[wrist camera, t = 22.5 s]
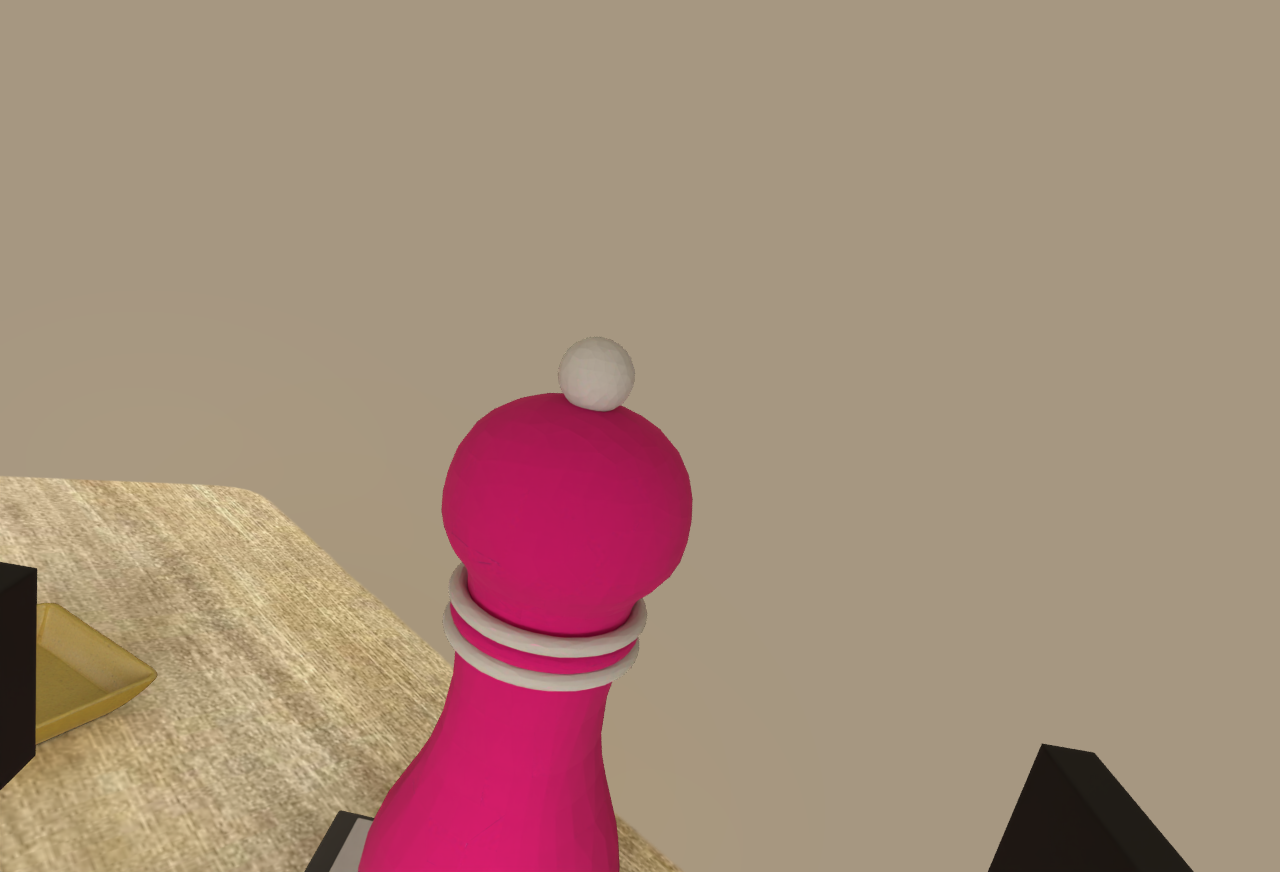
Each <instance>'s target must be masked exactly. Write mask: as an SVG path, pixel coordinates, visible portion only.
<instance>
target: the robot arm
mask: <svg viewBox="0 0 1280 872" xmlns="http://www.w3.org/2000/svg"><path fill="white" fill-rule="evenodd" d="M36 640H37V568H32V567H26V566H20V565H15V564H9V563H3V562H0V790H1V789H2V788H3V787H4V786H5V785H6V784H7V783H8V782H9V781H10V780H11V779H12V778H13V777H14V776H15V775H16V774H17V773H18V772H19V771H20V770H21V769H22V768H23V767H24V766H25V765H26V764H27V763H28V762H29V761H30V760H31V759H32V758H33V757H34V756H35V755H36ZM988 872H1193V870H1192V869H1191V868H1190V867H1189V866H1188V865H1187V863H1186V862H1185V861H1184V860H1183V858H1182V857H1181V856H1180V855H1179V854H1178V853H1177V851H1176V850H1175V849H1174V848H1173V846H1172V845H1171V844H1170V843H1169V842H1168V840H1167V839H1166V838H1165V837H1164V836H1163V835H1162V833H1161V832H1160V831H1159V830H1158V828H1157V827H1156V826H1155V825H1154V824H1153V823H1152V821H1151V820H1150V819H1149V818H1148V816H1147V815H1146V814H1145V813H1144V812H1143V811H1142V810H1141V808H1140V807H1139V806H1138V805H1137V803H1136V802H1135V801H1134V800H1133V799H1132V797H1131V796H1130V795H1129V794H1128V793H1127V791H1126V790H1125V789H1124V788H1123V787H1122V785H1121V784H1120V783H1119V782H1118V781H1117V779H1116V778H1115V777H1114V776H1113V775H1112V774H1111V772H1110V771H1109V770H1108V769H1107V768H1106V766H1105V765H1104V764H1103V763H1102V762H1101V760H1100V759H1099V758H1098V757H1097V756H1096V754H1095V753H1093V752H1087V751H1082V750H1076V749H1070V748H1064V747H1059V746H1052V745H1047V744H1042V745H1041V747H1040V749H1039V752H1038V755H1037V757H1036V759H1035V761H1034V764H1033V766H1032V768H1031V771H1030V773H1029V776H1028V778H1027V781H1026V783H1025V785H1024V787H1023V790H1022V792H1021V795H1020V797H1019V799H1018V802H1017V804H1016V806H1015V809H1014V811H1013V813H1012V816H1011V818H1010V821H1009V823H1008V825H1007V828H1006V830H1005V832H1004V835H1003V837H1002V840H1001V842H1000V844H999V847H998V849H997V851H996V854H995V856H994V859H993V861H992V863H991V866H990V868H989V870H988Z"/></svg>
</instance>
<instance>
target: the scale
mask: <svg viewBox="0 0 1280 872" xmlns="http://www.w3.org/2000/svg"><path fill="white" fill-rule="evenodd" d="M373 820H374V818H372V817H367V816H363V815H359V814H354V813H350V812H345V811H339V812H338V814H337V815H336V817H335V819H334V821H333V822H332V824H331V826H330V828H329V829H328V831H327V833H326V835H325V836H324V838H323V840H322V842H321V843H320V845H319V847H318V849H317V851H316V852H315V854H314V856H313V858H312V859H311V861H310V863H309V865H308V866H307V868H306V870H305V872H358V867H359V863H360V859H361V856H362V852H363V848H364V845H365V841H366V837H367V834H368V831H369V829H370V827H371V825H372V822H373Z"/></svg>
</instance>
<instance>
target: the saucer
mask: <svg viewBox="0 0 1280 872" xmlns="http://www.w3.org/2000/svg"><path fill="white" fill-rule="evenodd" d="M156 677H157V672H156V671H155V670H154V669H153V668H152V667H150V666H149V665H147V664H146V663H144V662H143V661H141V660H140V659H138V658H137V657H135V656H134V655H133V654H131V653H130V652H128V651H127V650H125V649H123V648H122V647H121V646H119V645H117V644H116V643H114V642H113V641H111V640H110V639H109V638H107V637H106V636H104V635H102V634H101V633H99V632H98V631H97V630H95V629H93V628H92V627H90V626H89V625H88V624H86V623H85V622H83V621H82V620H80V619H79V618H78V617H76V616H75V615H73V614H71V613H70V612H69V611H68V610H66V609H65V608H63V607H62V606H60V605H58V604H56V603H41V604H37V640H36V744H39V743H41V742H43V741H46V740H48V739H50V738H53V737H55V736H57V735H59V734H62V733H64V732H66V731H69V730H71V729H73V728H75V727H78V726H80V725H83V724H85V723H87V722H90V721H92V720H94V719H96V718H99V717H101V716H103V715H105V714H108V713H110V712H112V711H114V710H115V709H117V708H119V707H121V706H122V705H124V704H125V703H127V702H128V701H130V700H131V699H133V698H134V697H135V696H137V695H138V694H139V693H140V692H142V691H143V690H144V689H145V688H147V687H148V686H149V685H150V684H151V683H152V682H153V681H154V680H155V679H156Z"/></svg>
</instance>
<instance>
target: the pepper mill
mask: <svg viewBox="0 0 1280 872" xmlns="http://www.w3.org/2000/svg"><path fill="white" fill-rule="evenodd" d="M634 376H635V371H634V367H633V364H632V360H631V357H630V356H629V354H628V353H627V351H626V350H625V349H623V347H622V346H620V345H619V344H617V343H616V342H614V341H613V340H610V339H607V338H602V337H590V338H586V339H583V340H581V341H578V342H576V343H575V344H574V345H573V346H571V347H570V348H569V349H568V350H567V352H566V353H565V354H564V356H563V358H562V360H561V363H560V366H559V372H558V378H559V384H560V388H561V390H562V392H563V393H547V394H540V395H534V396H529V397H524V398H520V399H517V400H515V401H512V402H510V403H507V404H505V405H503V406H500V407H498V408H496V409H494V410H492V411H491V412H490V413H488V414H487V415H486V416H484V417H483V418H482V419H480V420H479V421H478V422H477V423H476V424H475V425H474V427H473V428H472V429H471V431H470V432H469V433H468V434H467V436H466V437H465V438H464V439H463V441H462V442H461V443H460V445H459V446H458V448H457V450H456V453H455V455H454V458H453V460H452V462H451V464H450V467H449V470H448V473H447V477H446V481H445V485H444V489H443V498H442V516H443V522H444V528H445V530H446V533H447V536H448V538H449V541H450V544H451V546H452V548H453V549H454V551H455V553H456V554H457V556H458V557H459V558H460V560H461V561H462V563H461V564H460V565H458V566H457V568H456V569H455V570H454V572H453V574H452V576H451V578H450V581H449V598H450V601H449V603H448V604H447V606H446V609H445V612H444V615H443V628H444V632H445V634H446V637H447V639H448V640H449V642H450V644H451V645H452V647H453V648H454V649H455V660H454V671H453V676H452V680H451V683H450V687H449V691H448V694H447V698H446V702H445V705H444V709H443V712H442V714H441V716H440V718H439V720H438V722H437V724H436V726H435V728H434V730H433V733H432V735H431V737H430V738H429V739H428V741H427V742H426V744H425V745H424V747H423V748H422V749H421V751H420V752H419V754H418V755H417V756H416V757H415V759H414V760H413V761H412V762H411V764H410V765H409V766H408V767H407V769H406V770H405V771H404V773H403V774H402V775H401V776H400V778H399V779H398V780H397V781H396V783H395V784H394V785H393V787H392V788H391V789H390V790H389V792H388V794H387V796H386V798H385V799H384V801H383V803H382V805H381V807H380V809H379V811H378V812H377V814H376V816H375V818H374V820H373V822H372V825H371V827H370V829H369V831H368V834H367V837H366V841H365V845H364V848H363V852H362V856H361V859H360V863H359V867H358V872H619V848H618V834H617V825H616V820H615V815H614V811H613V806H612V802H611V797H610V793H609V789H608V785H607V780H606V775H605V770H604V764H603V758H602V746H601V731H602V725H603V718H604V711H605V705H606V699H607V695H608V692H609V689H610V686H611V683H612V681H614V680H616V679H618V678H620V677H621V676H622V675H624V674H625V673H626V672H627V671H628V670H629V669H630V668H631V667H632V665H633V664H634V662H635V660H636V658H637V655H638V651H639V638H638V636H639V635H640V634H641V633H642V631H643V629H644V627H645V624H646V618H647V610H646V605H645V603H644V600H643V597H644V596H646V595H648V594H649V593H651V592H652V591H653V590H655V589H656V588H657V587H658V586H659V585H661V584H662V583H663V582H664V581H665V580H666V579H668V578H669V577H670V576H671V574H672V573H673V571H674V570H675V569H676V567H677V566H678V564H679V563H680V561H681V558H682V556H683V553H684V550H685V547H686V544H687V541H688V536H689V531H690V526H691V520H692V493H691V486H690V480H689V475H688V472H687V470H686V468H685V466H684V463H683V461H682V458H681V456H680V454H679V452H678V451H677V449H676V448H675V447H674V446H673V445H672V443H671V442H670V441H669V440H668V438H667V437H666V436H665V435H664V434H663V433H662V431H661V430H660V429H659V428H658V427H656V426H655V425H654V424H652V423H651V422H649V421H648V420H647V419H645V418H644V417H642V416H641V415H639V414H637V413H635V412H633V411H631V410H629V409H627V408H625V407H623V406H620V405H621V404H622V403H624V401H625V400H626V399H627V397H628V396H629V394H630V392H631V390H632V388H633V384H634Z"/></svg>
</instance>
